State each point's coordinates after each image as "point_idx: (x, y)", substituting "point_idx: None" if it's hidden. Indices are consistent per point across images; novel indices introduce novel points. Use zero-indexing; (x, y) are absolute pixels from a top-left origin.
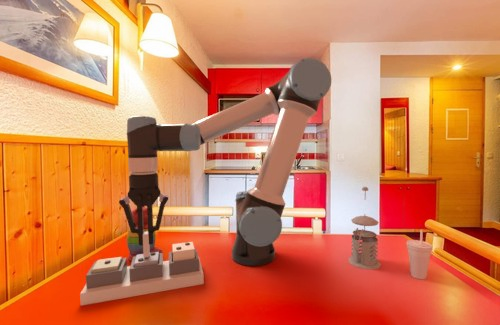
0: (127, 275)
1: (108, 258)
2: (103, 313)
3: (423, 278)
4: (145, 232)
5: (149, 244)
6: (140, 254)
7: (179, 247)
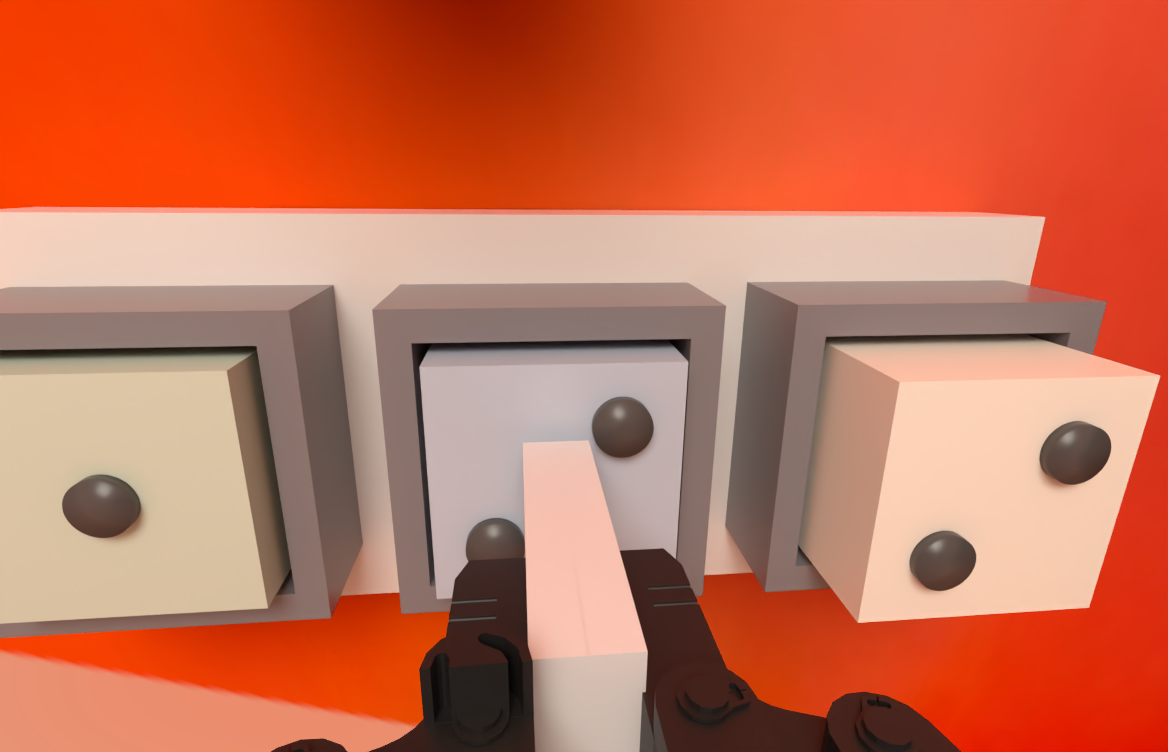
0: (371, 421)
1: (55, 379)
2: (319, 659)
3: None
4: (574, 703)
5: (604, 510)
6: (466, 377)
7: (956, 558)
